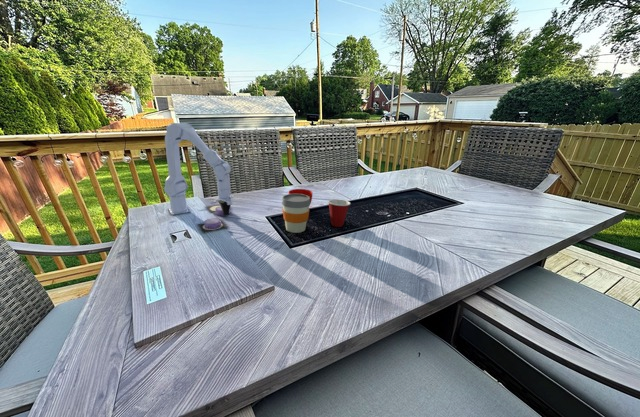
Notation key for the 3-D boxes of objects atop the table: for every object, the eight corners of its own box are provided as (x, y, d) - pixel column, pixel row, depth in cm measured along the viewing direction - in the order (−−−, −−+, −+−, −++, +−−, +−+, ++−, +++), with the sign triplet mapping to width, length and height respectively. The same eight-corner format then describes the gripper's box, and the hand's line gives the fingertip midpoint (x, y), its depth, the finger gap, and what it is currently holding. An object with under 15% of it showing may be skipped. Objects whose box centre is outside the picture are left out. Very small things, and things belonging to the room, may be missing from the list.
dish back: (213, 211, 135) (213, 207, 134) (227, 209, 139) (227, 205, 138) (218, 216, 129) (217, 211, 129) (232, 213, 133) (231, 209, 133)
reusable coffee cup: (276, 228, 120) (276, 196, 115) (296, 221, 128) (297, 191, 123) (294, 237, 112) (295, 203, 107) (315, 229, 121) (316, 198, 116)
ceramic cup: (280, 213, 138) (280, 195, 134) (295, 204, 153) (295, 187, 149) (302, 217, 133) (303, 199, 130) (315, 207, 148) (316, 191, 145)
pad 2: (198, 224, 119) (198, 224, 119) (220, 220, 125) (220, 220, 125) (204, 232, 111) (204, 232, 111) (227, 227, 117) (227, 227, 117)
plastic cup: (351, 223, 130) (353, 200, 126) (344, 230, 120) (346, 206, 116) (331, 218, 134) (332, 196, 130) (322, 226, 124) (324, 202, 120)
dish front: (202, 225, 118) (202, 219, 118) (218, 222, 123) (217, 216, 122) (207, 230, 113) (206, 225, 113) (223, 227, 118) (223, 221, 117)
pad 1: (206, 207, 141) (206, 206, 141) (224, 204, 147) (224, 204, 147) (211, 212, 133) (211, 212, 133) (230, 209, 139) (230, 209, 139)
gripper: (237, 190, 122) (239, 217, 127) (227, 183, 133) (229, 208, 138) (222, 192, 118) (224, 220, 123) (213, 185, 129) (215, 211, 134)
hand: (226, 214), depth 130 cm, fingers closed
